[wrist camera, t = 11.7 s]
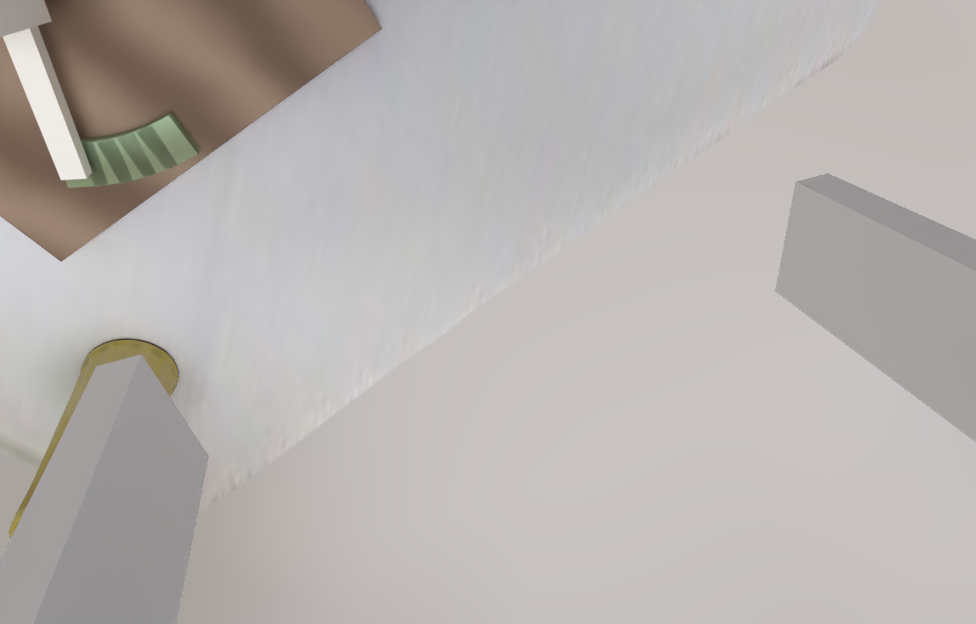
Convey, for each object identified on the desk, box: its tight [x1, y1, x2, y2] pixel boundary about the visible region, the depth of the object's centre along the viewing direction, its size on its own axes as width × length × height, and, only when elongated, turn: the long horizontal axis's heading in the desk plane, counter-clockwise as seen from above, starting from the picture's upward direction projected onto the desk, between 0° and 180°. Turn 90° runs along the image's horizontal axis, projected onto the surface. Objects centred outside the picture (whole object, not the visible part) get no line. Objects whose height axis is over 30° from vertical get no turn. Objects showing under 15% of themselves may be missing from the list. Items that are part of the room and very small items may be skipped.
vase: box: [9, 340, 178, 539], centre depth 36 cm, size 6×6×14 cm
